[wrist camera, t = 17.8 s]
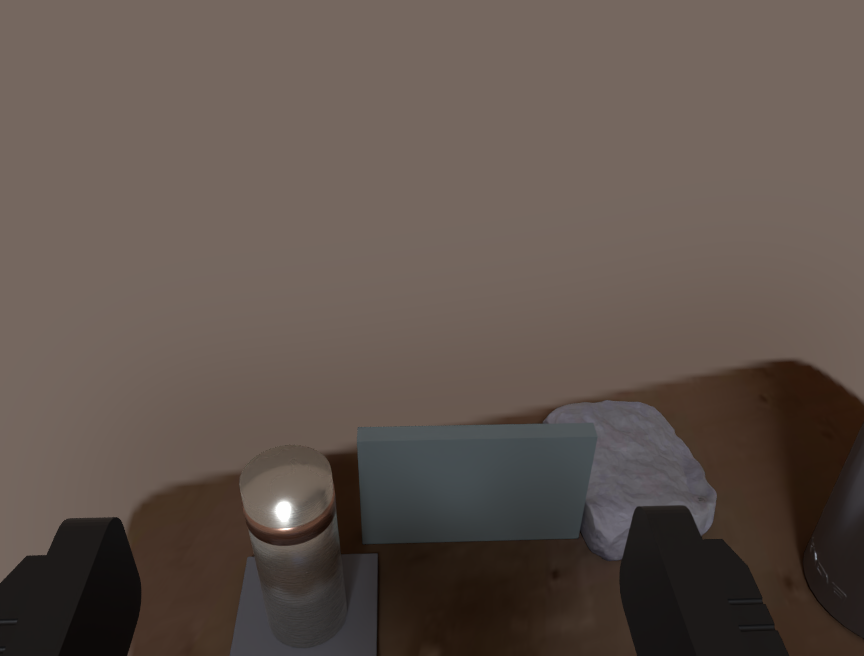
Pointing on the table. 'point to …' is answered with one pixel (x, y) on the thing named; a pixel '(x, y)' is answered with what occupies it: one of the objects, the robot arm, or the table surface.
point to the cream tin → (295, 543)
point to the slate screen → (473, 482)
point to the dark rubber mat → (345, 652)
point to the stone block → (634, 471)
